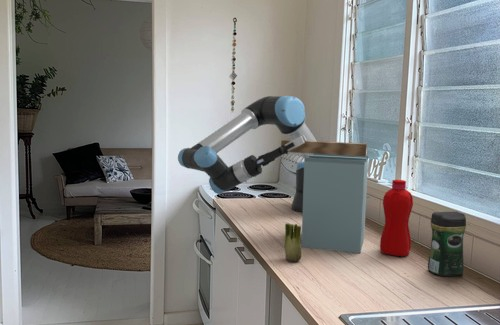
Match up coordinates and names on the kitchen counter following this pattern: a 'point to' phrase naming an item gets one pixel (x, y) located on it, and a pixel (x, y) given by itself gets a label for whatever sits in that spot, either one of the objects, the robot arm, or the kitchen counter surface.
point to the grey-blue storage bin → (334, 202)
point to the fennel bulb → (292, 242)
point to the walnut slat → (330, 148)
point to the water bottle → (396, 220)
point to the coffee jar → (447, 243)
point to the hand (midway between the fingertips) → (303, 139)
